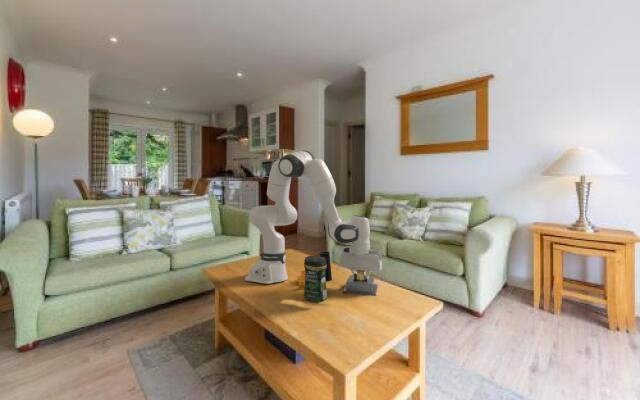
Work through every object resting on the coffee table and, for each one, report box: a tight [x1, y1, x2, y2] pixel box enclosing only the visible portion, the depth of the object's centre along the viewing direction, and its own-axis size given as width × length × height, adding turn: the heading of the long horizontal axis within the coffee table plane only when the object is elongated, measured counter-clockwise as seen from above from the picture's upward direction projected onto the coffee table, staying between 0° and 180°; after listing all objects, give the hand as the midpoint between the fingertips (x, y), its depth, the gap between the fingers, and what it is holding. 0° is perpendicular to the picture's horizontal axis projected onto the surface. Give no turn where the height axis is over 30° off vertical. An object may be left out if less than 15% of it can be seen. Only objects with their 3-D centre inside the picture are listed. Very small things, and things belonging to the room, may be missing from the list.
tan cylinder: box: [356, 269, 367, 281], centre depth 136 cm, size 4×4×8 cm
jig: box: [342, 274, 378, 296], centre depth 136 cm, size 15×14×5 cm
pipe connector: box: [319, 250, 333, 282], centre depth 148 cm, size 12×5×15 cm, turn 120°
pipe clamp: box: [297, 269, 305, 288], centre depth 143 cm, size 12×4×6 cm, turn 16°
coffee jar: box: [303, 255, 328, 303], centre depth 124 cm, size 10×8×19 cm
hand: (360, 278), depth 136 cm, fingers closed on tan cylinder, 4 cm apart
